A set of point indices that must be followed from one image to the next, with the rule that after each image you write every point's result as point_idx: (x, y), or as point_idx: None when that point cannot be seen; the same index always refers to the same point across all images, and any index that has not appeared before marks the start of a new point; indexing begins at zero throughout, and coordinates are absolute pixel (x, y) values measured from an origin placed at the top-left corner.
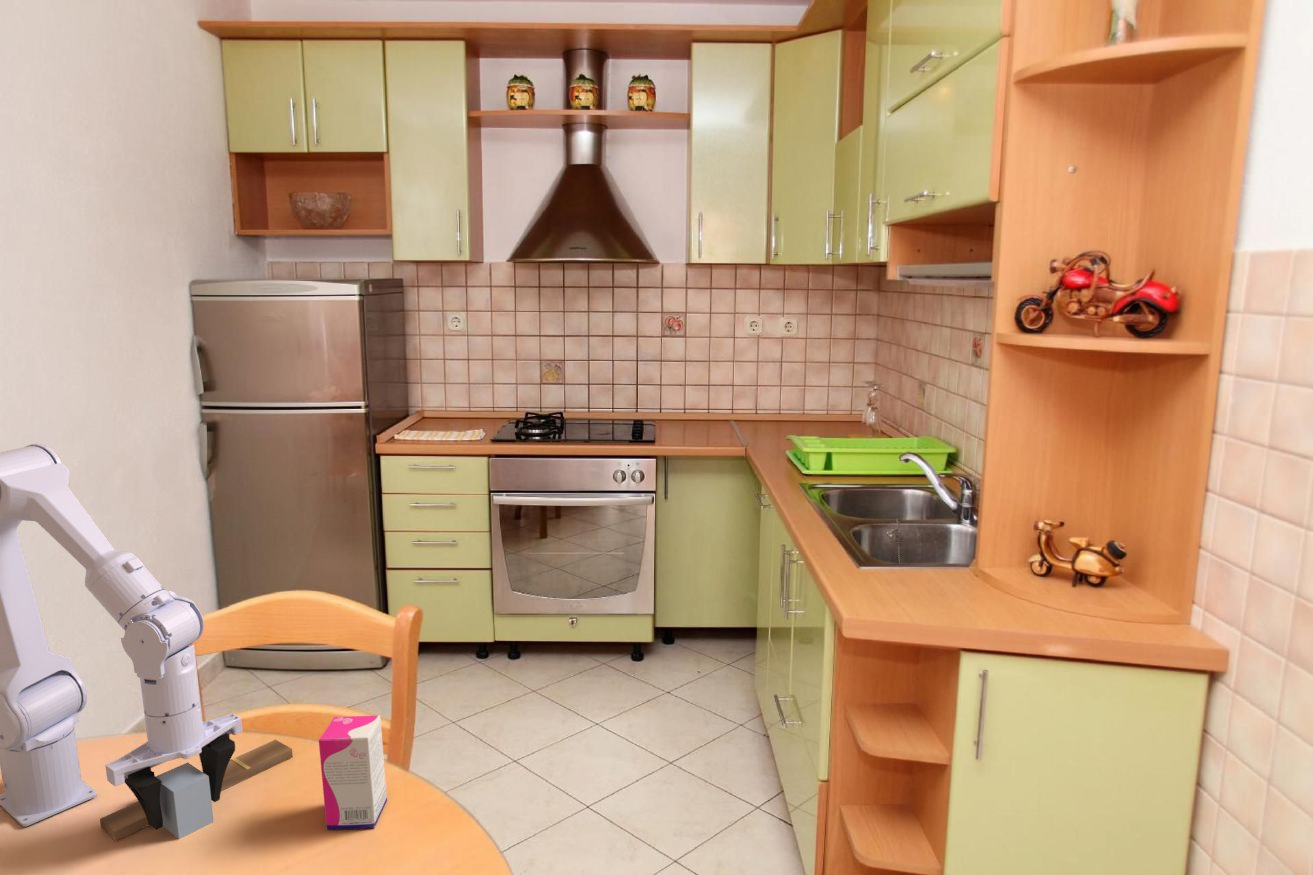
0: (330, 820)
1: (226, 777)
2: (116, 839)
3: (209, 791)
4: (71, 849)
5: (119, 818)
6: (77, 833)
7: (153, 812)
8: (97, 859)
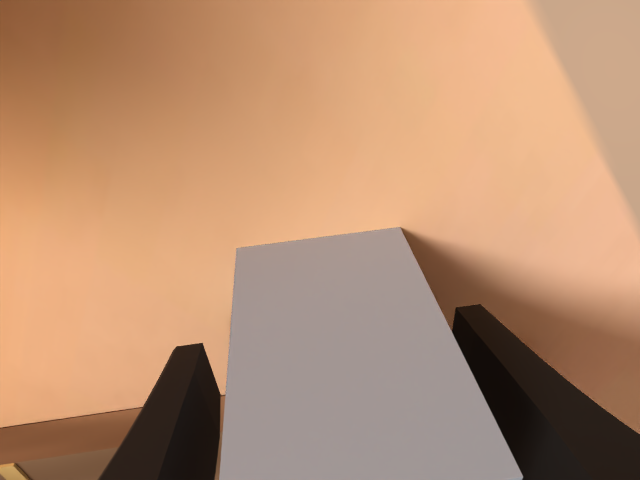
0: None
1: (109, 456)
2: None
3: (230, 392)
4: (613, 380)
5: None
6: None
7: (564, 378)
8: (627, 297)
